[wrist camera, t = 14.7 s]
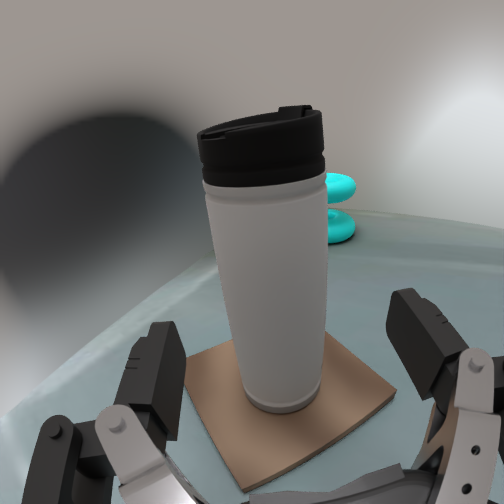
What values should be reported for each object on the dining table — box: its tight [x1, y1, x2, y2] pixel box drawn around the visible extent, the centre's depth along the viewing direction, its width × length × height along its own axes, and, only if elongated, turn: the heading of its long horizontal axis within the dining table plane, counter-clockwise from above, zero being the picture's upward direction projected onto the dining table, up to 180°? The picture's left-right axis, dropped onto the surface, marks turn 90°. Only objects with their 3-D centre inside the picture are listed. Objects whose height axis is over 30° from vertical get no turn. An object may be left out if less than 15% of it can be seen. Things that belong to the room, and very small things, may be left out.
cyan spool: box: [325, 173, 356, 243], centre depth 47 cm, size 10×10×10 cm
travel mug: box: [197, 105, 328, 413], centre depth 17 cm, size 6×7×20 cm
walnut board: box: [184, 331, 397, 493], centre depth 22 cm, size 14×14×1 cm
